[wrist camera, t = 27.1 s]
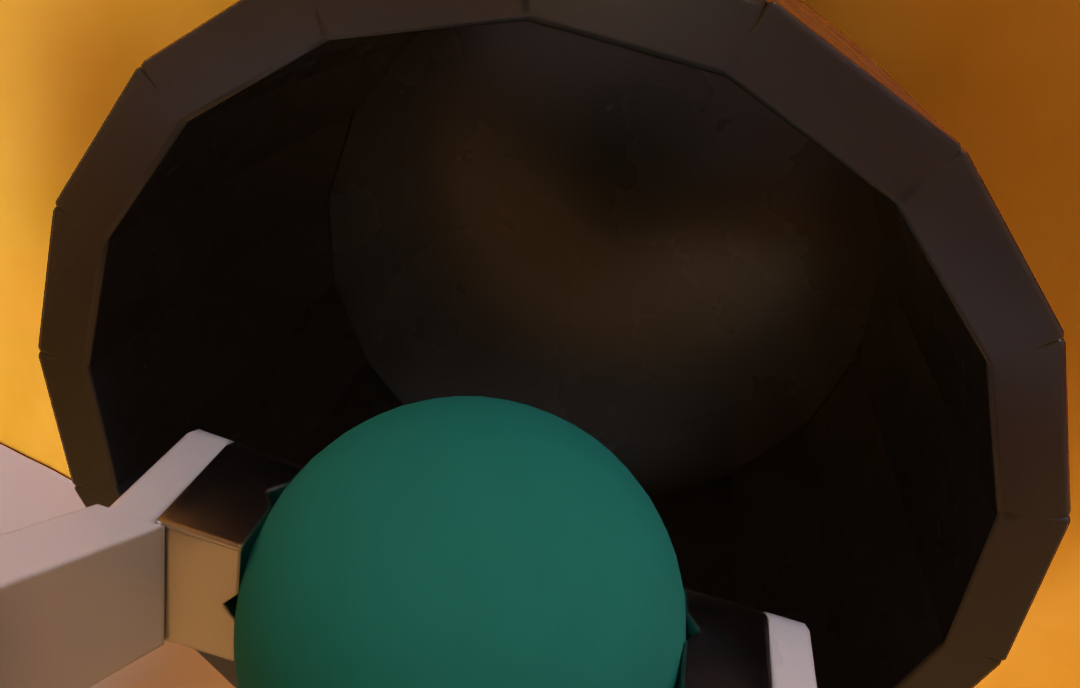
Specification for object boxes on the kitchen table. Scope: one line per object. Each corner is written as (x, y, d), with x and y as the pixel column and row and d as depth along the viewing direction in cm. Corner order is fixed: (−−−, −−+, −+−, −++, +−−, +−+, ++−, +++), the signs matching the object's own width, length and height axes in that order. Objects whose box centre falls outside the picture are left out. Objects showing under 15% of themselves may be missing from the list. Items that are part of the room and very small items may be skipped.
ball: (367, 276, 10) (118, 530, 6) (745, 390, 10) (766, 742, 6) (329, 555, 13) (132, 879, 9) (633, 653, 13) (589, 1040, 8)
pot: (335, -154, 16) (-18, -218, 8) (1054, 42, 15) (1391, 168, 7) (284, 416, 22) (64, 665, 15) (776, 573, 21) (803, 920, 14)
